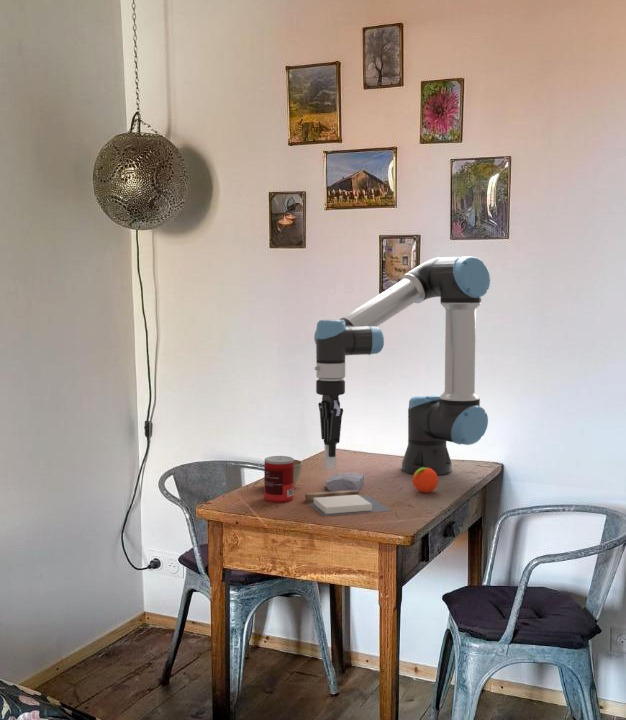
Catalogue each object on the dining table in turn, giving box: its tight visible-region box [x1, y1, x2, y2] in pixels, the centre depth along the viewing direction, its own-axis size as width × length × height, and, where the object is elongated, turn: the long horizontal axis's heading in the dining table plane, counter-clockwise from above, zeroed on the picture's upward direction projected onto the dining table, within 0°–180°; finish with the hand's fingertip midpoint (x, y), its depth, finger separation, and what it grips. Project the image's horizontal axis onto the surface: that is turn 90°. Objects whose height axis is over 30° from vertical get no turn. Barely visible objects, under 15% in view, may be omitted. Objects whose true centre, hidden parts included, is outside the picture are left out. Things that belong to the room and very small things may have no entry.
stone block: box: [325, 472, 365, 492], centre depth 231 cm, size 12×5×10 cm
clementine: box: [412, 467, 439, 494], centre depth 226 cm, size 8×7×7 cm
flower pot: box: [293, 458, 303, 487], centre depth 231 cm, size 10×10×7 cm
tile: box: [314, 494, 372, 514], centre depth 208 cm, size 12×2×10 cm
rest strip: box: [304, 490, 360, 504], centre depth 216 cm, size 14×2×2 cm, turn 107°
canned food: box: [263, 455, 295, 504], centre depth 217 cm, size 8×8×11 cm
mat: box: [307, 495, 393, 517], centre depth 211 cm, size 18×16×1 cm
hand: (330, 468), depth 218 cm, fingers closed
